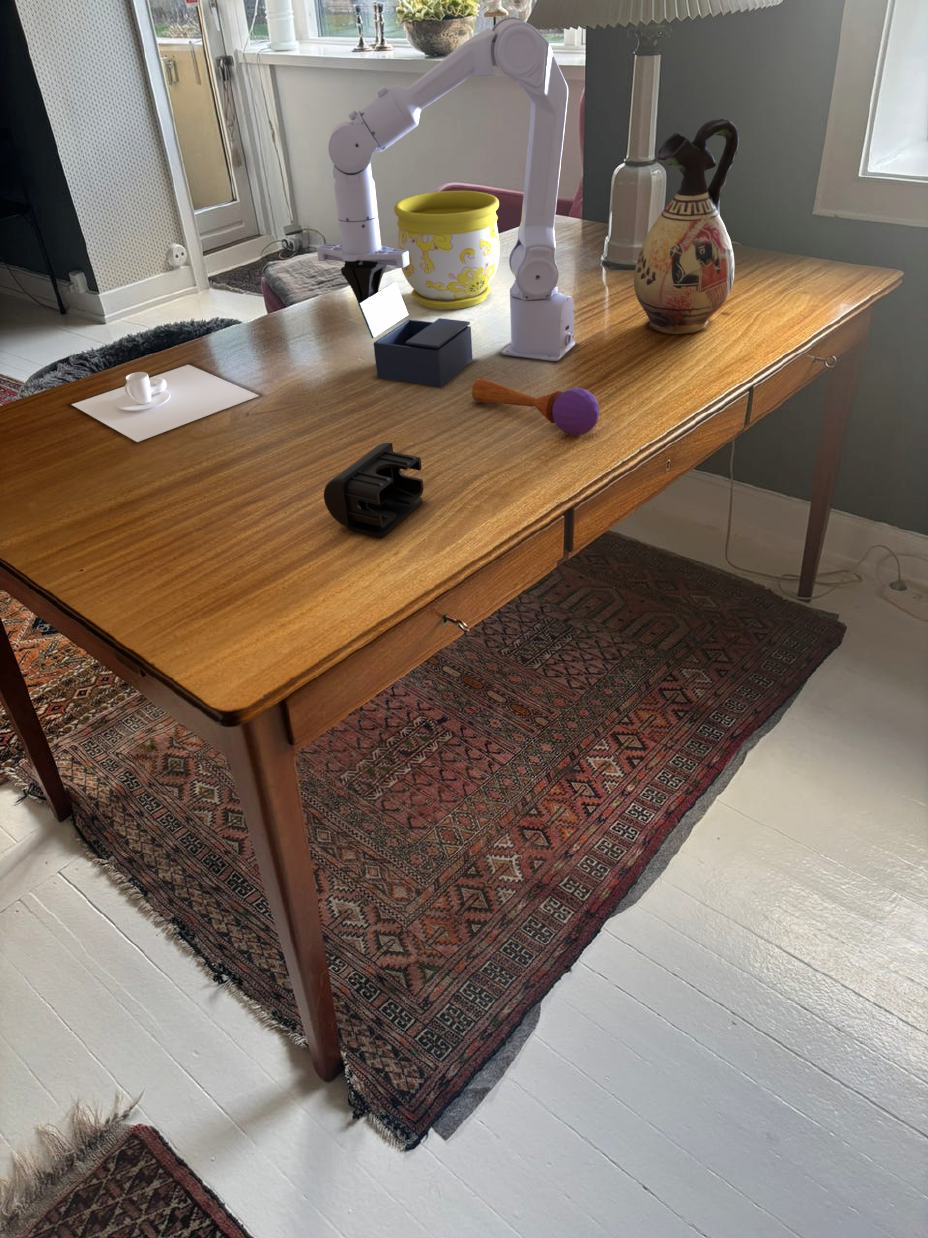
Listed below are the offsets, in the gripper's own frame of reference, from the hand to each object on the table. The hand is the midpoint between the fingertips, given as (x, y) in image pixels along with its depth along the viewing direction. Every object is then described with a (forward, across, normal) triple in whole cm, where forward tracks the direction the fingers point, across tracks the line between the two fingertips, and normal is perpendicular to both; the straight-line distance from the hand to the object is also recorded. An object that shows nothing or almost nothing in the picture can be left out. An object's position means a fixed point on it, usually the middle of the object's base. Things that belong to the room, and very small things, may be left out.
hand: (368, 311), depth 142 cm
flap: (-1, +3, 0) cm, 3 cm away
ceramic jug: (+8, +41, +31) cm, 52 cm away
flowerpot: (+8, -2, +32) cm, 33 cm away
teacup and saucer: (+8, -22, -23) cm, 33 cm away
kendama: (+8, +32, -11) cm, 35 cm away
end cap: (+8, +25, -41) cm, 49 cm away
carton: (+8, +9, 0) cm, 12 cm away
